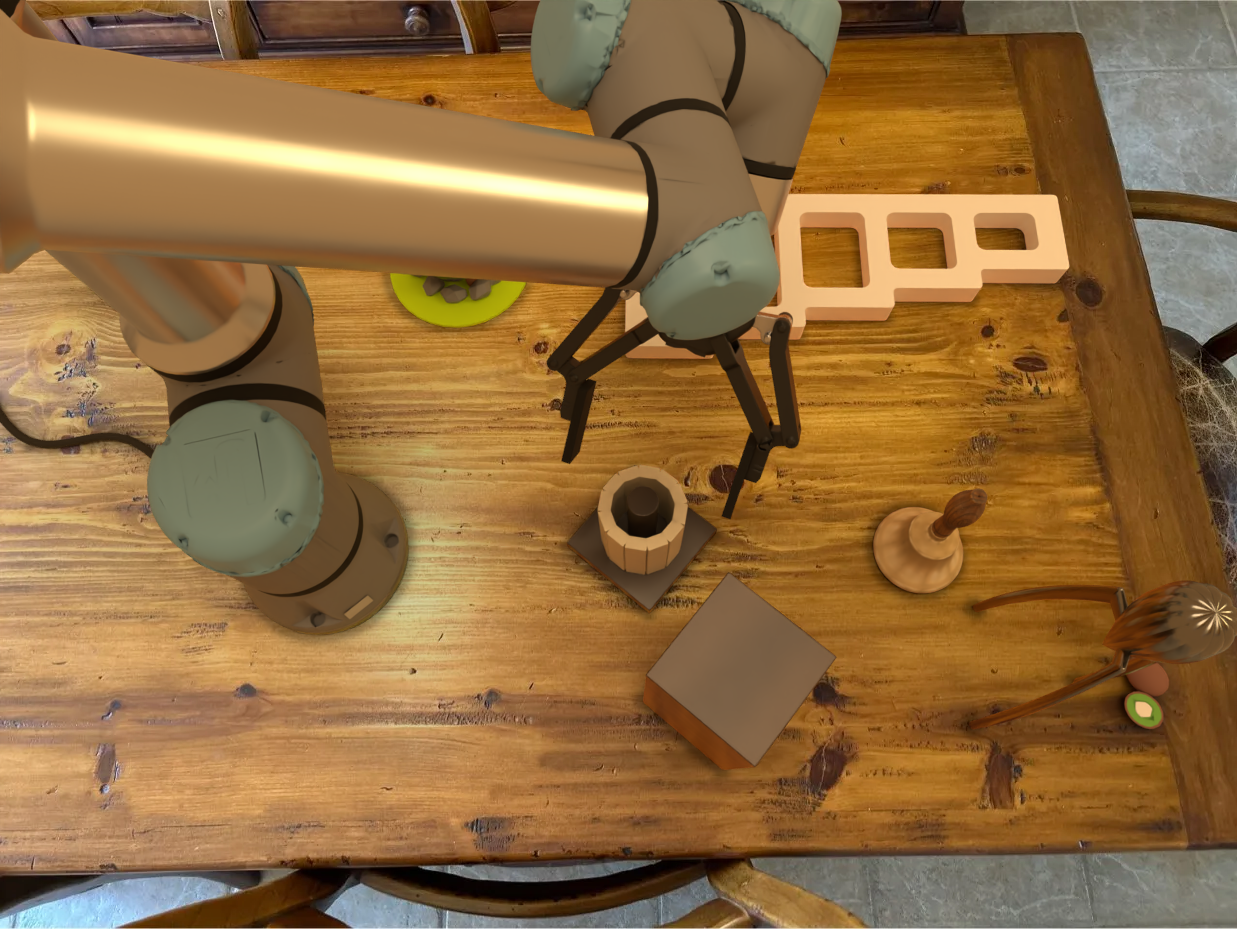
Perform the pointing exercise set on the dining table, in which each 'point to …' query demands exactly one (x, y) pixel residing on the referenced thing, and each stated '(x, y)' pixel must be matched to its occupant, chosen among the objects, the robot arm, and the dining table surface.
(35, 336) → the dining table surface
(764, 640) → the stand block
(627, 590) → the tape peg
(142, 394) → the dining table surface
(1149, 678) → the kiwi fruit
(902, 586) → the hand bell
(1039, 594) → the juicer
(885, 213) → the holder
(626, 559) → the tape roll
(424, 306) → the toy cauldron
